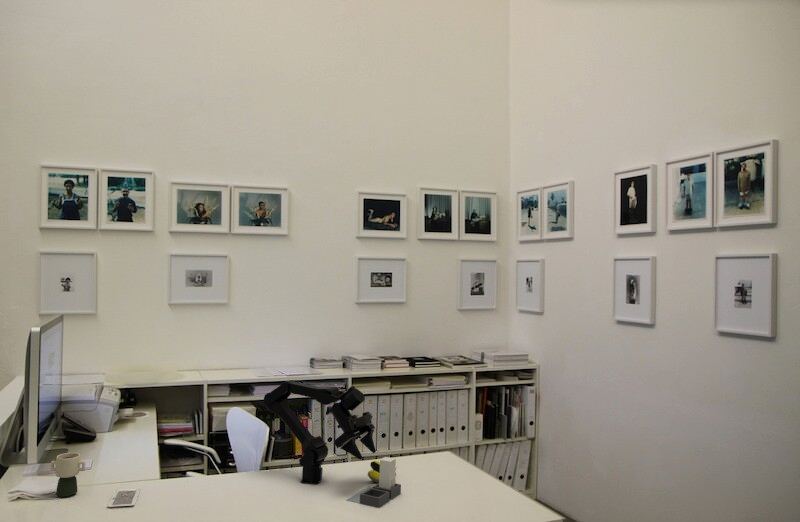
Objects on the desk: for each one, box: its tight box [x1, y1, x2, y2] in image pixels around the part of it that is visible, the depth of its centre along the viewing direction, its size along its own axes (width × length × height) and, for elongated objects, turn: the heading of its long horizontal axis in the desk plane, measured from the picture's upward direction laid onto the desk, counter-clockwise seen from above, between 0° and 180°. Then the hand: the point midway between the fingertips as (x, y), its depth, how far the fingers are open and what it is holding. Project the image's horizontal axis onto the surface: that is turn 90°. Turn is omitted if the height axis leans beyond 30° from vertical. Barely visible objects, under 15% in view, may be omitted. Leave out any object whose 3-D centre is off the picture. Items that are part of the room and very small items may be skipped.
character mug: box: [50, 452, 86, 498], centre depth 207 cm, size 11×7×13 cm, turn 95°
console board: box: [345, 482, 402, 509], centre depth 213 cm, size 13×16×4 cm
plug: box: [379, 456, 397, 489], centre depth 215 cm, size 4×4×12 cm
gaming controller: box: [367, 460, 397, 484], centre depth 232 cm, size 15×6×10 cm
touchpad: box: [107, 488, 141, 508], centre depth 205 cm, size 8×15×2 cm, turn 15°
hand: (368, 455), depth 218 cm, fingers open, 9 cm apart
